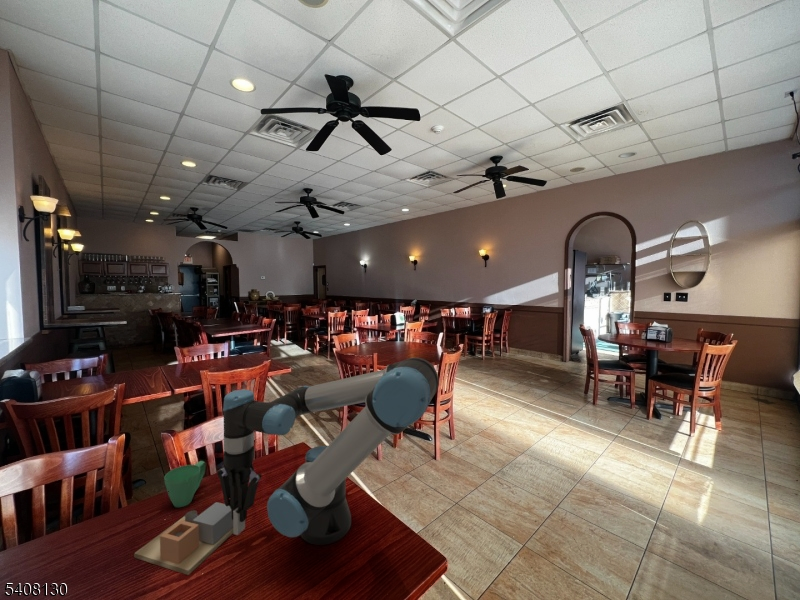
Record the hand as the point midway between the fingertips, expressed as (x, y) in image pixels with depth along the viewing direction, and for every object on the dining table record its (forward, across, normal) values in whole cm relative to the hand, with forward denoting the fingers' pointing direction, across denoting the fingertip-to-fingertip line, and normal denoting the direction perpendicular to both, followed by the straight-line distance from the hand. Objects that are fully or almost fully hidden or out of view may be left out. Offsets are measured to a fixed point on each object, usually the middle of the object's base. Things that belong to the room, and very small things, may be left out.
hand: (239, 530), depth 92 cm
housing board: (+4, +13, +4) cm, 14 cm away
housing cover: (+2, +8, 0) cm, 9 cm away
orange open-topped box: (+2, +11, +8) cm, 14 cm away
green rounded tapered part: (+4, +30, -11) cm, 33 cm away
